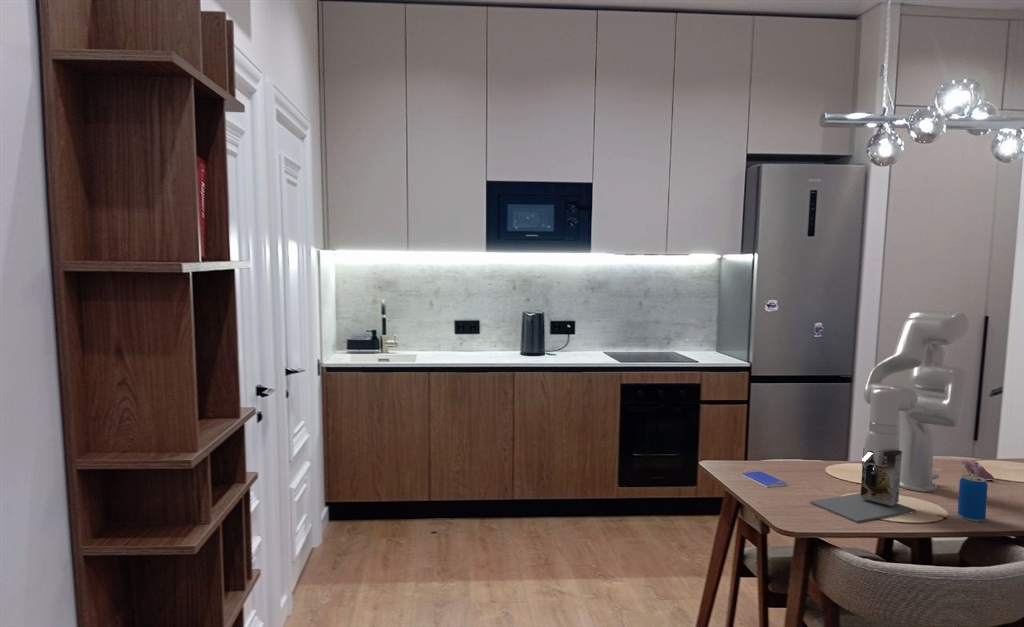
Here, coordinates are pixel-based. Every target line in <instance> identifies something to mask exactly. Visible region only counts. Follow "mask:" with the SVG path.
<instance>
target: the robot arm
mask: <svg viewBox="0 0 1024 627" xmlns="http://www.w3.org/2000/svg"><path fill="white" fill-rule="evenodd" d="M968 329H969V318H968V317H967V315H966V314H965V313H963V312H959V311H943V310H927V309H926V310H921V309H920V310H914V311H911V312H909V313H908V315H907V317H906V320H905V321H904V322H903V324H902V326H901V329H900V332H899V334H898V337H897V340H896V342H895V346H894V350H893V352H892V354H891V355H890V356H888V357H885V359H883V360H882V361H880V362H879V363H878V364H877V365H875V366H874V367H873V368H872V369H871V371H870V372H869V374H868V376H867V380H866V382H865V386H864V390H863V399H864V401H865V402H866V403H867V405H869V406H870V407H869V424H868V431H867V434H866V437H865V441H864V446H863V448H864V456H863V455H862V459H861V460H860V462H861V463H860V464H861V465H863V468H864V469H865V470H864V471H865V472H866V479H865V484H866V485H869V486H872V487H876V481H877V475H876V474H875V473H876V471H877V469H878V467H880V466H882V462H883V456H884V452H887V451H897V450H899V451H902V458H901V471H900V485H899V488H902V489H906V490H910V491H915V492H923V493H928V492H929V493H930V492H935V491H937V488H938V487H937V485H936V484H935V483H933V480H937V479H939V478H940V476H939V474H938V473H937V472H933V460H934V459H933V458H934V444H935V442H934V441H935V436H934V433H933V431H932V430H931V428H930V427H929V426H928V425H933V426H934V425H935V426H941V427H945V428H955V427H957V426H959V424H960V423H961V420H962V416H963V413H964V412H963V411H964V407H965V406H964V405H965V401H966V396H967V389H968V376H967V373H966V371H965V369H963V368H962V367H960V366H957V365H949V364H948V365H947V364H943V363H944V357H945V349H944V347H943V346H948V345H949V346H950V345H953V344H954V343H956V342H958V341H959V340H961V339H962V338H963V337H964V336H965V335H966V334H967V332H968ZM904 371H905V372H906V371H910V372H909V384H910V386H911V387H912V388H911V387H907V386H902V385H897V384H888V383H882V382H883V381H884V380H885V379H886V378H887V377H890V376H891V375H894V374H897V373H900V372H904ZM915 389H916V390H919V391H923V392H930V393H937V394H944V395H946V396H939V395H933V394H926V393H920V392H919V393H918V392H916V391H915ZM899 420H900V423H899ZM899 424H900V425H899ZM899 426H900V429H899ZM899 430H900V432H899ZM898 433H899V434H900V435H899V434H898ZM872 458H873V460H874V462H875V464H874V463H871V462H870V460H871V459H872ZM870 466H874V467H873V469H872V468H871V467H870Z"/></svg>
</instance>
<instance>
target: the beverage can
mask: <svg viewBox="0 0 1024 627" xmlns="http://www.w3.org/2000/svg"><path fill="white" fill-rule="evenodd" d="M958 485H959V489H958V503H957V514H958V515H959V516H960V518H962V519H964V520H967V521H971V522H982V521H984V520H986V515H987V499H988V483H987V480H986V479H984V478H982V477H978V476H974V475H973V476H972V475H970V474H963V475H961V478H960V479H959V484H958Z"/></svg>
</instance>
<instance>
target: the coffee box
mask: <svg viewBox="0 0 1024 627" xmlns="http://www.w3.org/2000/svg"><path fill="white" fill-rule="evenodd" d="M862 451H863V452H862V457H863V456H864V447H863V450H862ZM901 458H902V451H899V450H897V451H887V452H884V456H883V462H882V466H880V467H878V469H877V471H876V473H875V474H876V475H877V481H876V487H872V486H869V485H866V484H865V479H866V472H865V471H864V470H865V469H864V468H863V465H862V464H861V465H862V466H861V467H862V468H861V483H860V493H861V496H860V498H863V499H867V500H871V501H874V502H878V503H882V504H886V505H890V506H893V505H895V504H896V503H898V504H899V502H900V501H899V500H900V498H899V496H900V487H899V485H900V471H901ZM870 462H871V463H874V464H875V462H874V460H873V458H872V459H871V460H870ZM870 467H871V468H872V469H873V467H874V466H870Z"/></svg>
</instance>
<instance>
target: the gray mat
mask: <svg viewBox="0 0 1024 627" xmlns="http://www.w3.org/2000/svg"><path fill="white" fill-rule="evenodd" d="M860 496H861V492H859V493H853V494H847V495H846V494H845V495H840V496H835V497H828V498H823V499H816V500H811V501H809V504H810V503H811V504H810V505H813V506H816V507H818V508H820V507H821V508H820V509H822V508H823V510H825V509H826V510H825V511H827V510H828V512H830V513H832V512H833V514H834V513H835V514H834V515H838V516H839V515H840V516H839V517H841V516H842V518H844V517H845V518H844V519H846V518H847V519H846V520H849V521H851V520H852V521H851V522H853V523H856V524H858V523H859V524H860V523H863V522H868V521H874V520H879V519H884V517H885V518H889V516H891V517H895V516H894V515H896V516H900V514H901V515H905V513H906V514H910V512H912V513H916V509H914V508H913V507H909V506H906V505H903V504H901V503H899V502H898V503H896V504H895V505H893V506H890V505H886V504H882V503H878V502H874V501H871V500H867V499H863V498H860Z"/></svg>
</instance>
